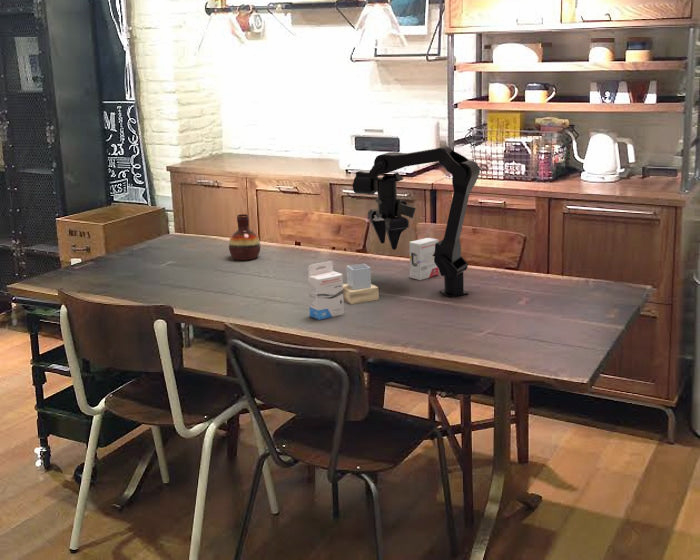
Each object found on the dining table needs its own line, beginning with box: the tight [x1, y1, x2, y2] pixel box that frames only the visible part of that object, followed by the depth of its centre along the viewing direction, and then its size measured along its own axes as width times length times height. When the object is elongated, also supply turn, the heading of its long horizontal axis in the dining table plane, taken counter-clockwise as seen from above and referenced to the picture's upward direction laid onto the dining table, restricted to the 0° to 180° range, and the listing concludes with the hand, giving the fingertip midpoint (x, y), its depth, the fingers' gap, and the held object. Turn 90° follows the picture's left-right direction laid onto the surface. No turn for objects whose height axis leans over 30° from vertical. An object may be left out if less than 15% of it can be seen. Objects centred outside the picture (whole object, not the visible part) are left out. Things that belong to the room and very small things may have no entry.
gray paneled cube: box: [346, 263, 372, 290], centre depth 257 cm, size 6×6×6 cm
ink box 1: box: [307, 260, 345, 321], centre depth 242 cm, size 8×5×15 cm, turn 125°
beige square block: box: [343, 283, 380, 305], centre depth 258 cm, size 9×9×4 cm
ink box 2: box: [409, 237, 439, 281], centre depth 277 cm, size 9×5×12 cm, turn 129°
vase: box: [228, 213, 261, 261], centre depth 309 cm, size 11×11×15 cm
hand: (388, 246), depth 267 cm, fingers open, 9 cm apart
